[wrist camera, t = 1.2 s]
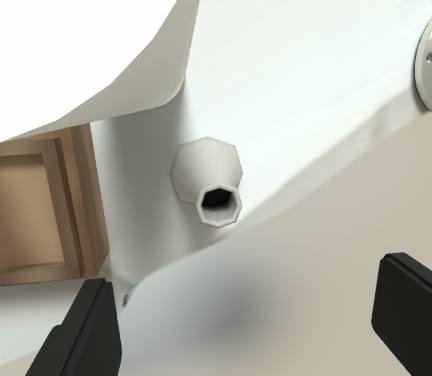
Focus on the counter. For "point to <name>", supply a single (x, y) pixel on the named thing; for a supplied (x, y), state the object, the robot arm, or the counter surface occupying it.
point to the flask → (209, 179)
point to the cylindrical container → (88, 60)
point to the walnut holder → (50, 208)
